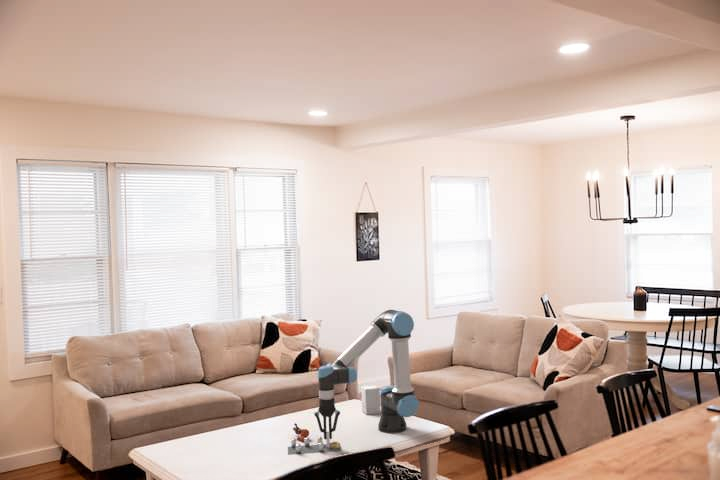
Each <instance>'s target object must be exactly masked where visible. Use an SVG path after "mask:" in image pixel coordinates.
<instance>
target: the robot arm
mask: <svg viewBox="0 0 720 480" xmlns="http://www.w3.org/2000/svg"><path fill="white" fill-rule="evenodd" d="M414 322H415V321H414V318H413V317H412V316H411V315H410V314H409V313H407V312H404V311H401V310H395V309H388V310H385V311H382V312H381V313H380V314H379V315H378V316H377V317H376V318H374V319H373V321H371V323H369V324H370V325H369V327H368V328H367V329H365V331H363V333H362V334H361V335H360V336H359V337H358V338H357V339H356V340H355V341H354V342H353V343H352V344H351V345H350V346H349V347H347V349H346V350H345V351H344V352H342V354H340V356H338V357H337V358H336V359H335V361H334V362H333V361H332V362H329V363H327V364H326V365H321V366H319V367H318V370H317V372H318V373H317V378H318V398H319V399H318V402H319V403H318V406H319V407H318V409H317V411H314V413H313V414H314V416H315V418H316V420H317V424H318V428H319V432H320V433H323V438H324V440H326V443H325V444H327V447H328V446H330V443H331V440H332V439H333V432H336V429H337V424H338V418H339V416H340V414H341V411H340V410H338V409H336V406H335V398H334V397H335V385H342V384H343V385H345V384H351V383H355V382H357V379H358V374H357V373H358V372H357V370H356V368H355V367H351V366H352V365H353V364H354V363H355V362H356V361H357V360H358V359H359V358H361V356H363V354H364V353H365V352H366V351H367V350H369V349H370V348H371V347H372V345H374V343H376V342H377V341H378V339H380V337H385V335H388V339H389V340H390V341H391V352H392V353H391V354H392V369H393V383H394V385H392V384H391V385H386V386H382V387H381V388H380V414H381V415H380V418H379V420H378V424H377V425H378V428H377V429H378V431H380V432H381V433H387V434H391V433H392V434H395V433H396V434H397V433H401V432H405V431H406V430H407V427H408V425H407V421H406V419H405V418H410V417H413V416H414V415H415V414H416V413H417V412H418V410H419V406H420V402H419V399H418V397H416V396H415V389H414V387H413V386H412V383H411V382H412V381H411V367H410V349H409V340H410V339H411V337H412V334H411V333H412V332H413V330H414V329H415V328H414V327H415V323H414ZM334 414H335V416H334V420H333V425H332V417H333V415H334ZM320 415H321V416H322V418H323V426H322V424H321V420H320ZM327 418H328V431H327Z"/></svg>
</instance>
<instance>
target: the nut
mask: <svg viewBox="0 0 720 480" xmlns="http://www.w3.org/2000/svg"><path fill="white" fill-rule="evenodd" d="M339 443H340V442H339V441H330V448H331V449H338V448H339Z"/></svg>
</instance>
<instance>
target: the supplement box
mask: <svg viewBox="0 0 720 480" xmlns="http://www.w3.org/2000/svg"><path fill="white" fill-rule="evenodd" d="M360 389H361V391H360V392H361V394H360V395H361V412H362V413H363V414H365V415H366V416H367V415H368V416H369V415H377V414H381V395H380V392H381V388H380V387H378V386H377V385H375V384H373V385H362V386H361V387H360Z"/></svg>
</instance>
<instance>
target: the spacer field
mask: <svg viewBox="0 0 720 480" xmlns="http://www.w3.org/2000/svg"><path fill="white" fill-rule="evenodd" d="M290 443H291V446H290V447H292V448H296V454H295V455H301V454H300V453H301V446H302V445H301V443H297V438H291V439H290ZM303 443H304V446H305V447H309V445H310V437H306V438H304V441H303ZM323 444H324V442H323V436H318V437H317V445H318V448H319V452H321V453H324V452H323V451H324V449H323Z"/></svg>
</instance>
